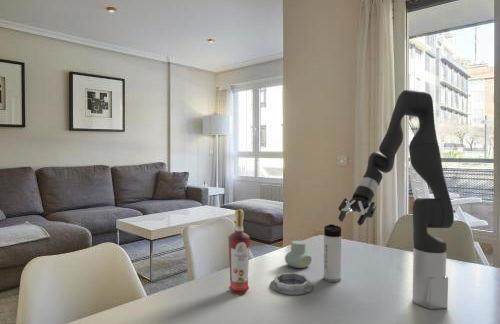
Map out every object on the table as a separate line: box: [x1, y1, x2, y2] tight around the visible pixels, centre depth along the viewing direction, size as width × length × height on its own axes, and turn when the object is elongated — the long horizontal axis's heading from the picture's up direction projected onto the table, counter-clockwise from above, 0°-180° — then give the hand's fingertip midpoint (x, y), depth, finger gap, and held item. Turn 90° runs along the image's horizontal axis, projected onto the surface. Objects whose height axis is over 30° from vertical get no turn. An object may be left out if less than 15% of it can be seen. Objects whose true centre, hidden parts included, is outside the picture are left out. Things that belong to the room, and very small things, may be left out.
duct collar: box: [270, 272, 314, 296], centre depth 122 cm, size 15×15×3 cm
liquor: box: [227, 209, 251, 295], centre depth 117 cm, size 7×7×28 cm
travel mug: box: [323, 223, 342, 283], centre depth 128 cm, size 6×7×20 cm
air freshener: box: [284, 240, 313, 269], centre depth 143 cm, size 11×8×10 cm
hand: (349, 222), depth 135 cm, fingers open, 8 cm apart
